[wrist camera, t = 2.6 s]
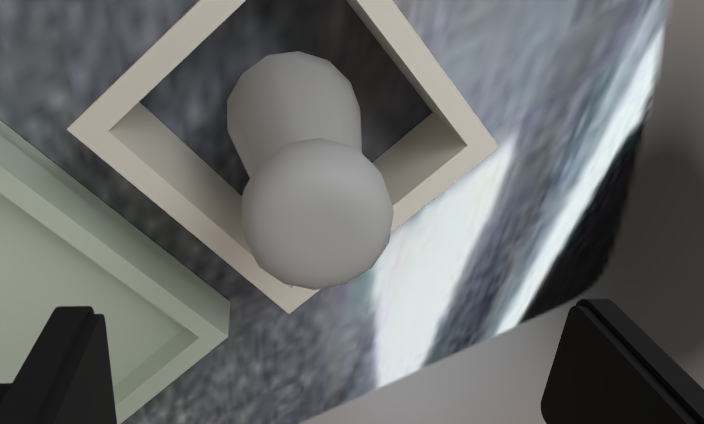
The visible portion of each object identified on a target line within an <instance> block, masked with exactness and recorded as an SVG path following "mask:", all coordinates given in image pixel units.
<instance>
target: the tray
mask: <svg viewBox="0 0 704 424" xmlns="http://www.w3.org/2000/svg"><path fill="white" fill-rule="evenodd" d="M58 306H91V307H92V308H93V310H94V314H103V315H104V317H105V322H106V331H107V340H108V349H109V357H110V366H111V375H112V383H113V392H114V401H115V410H116V418H117V424H121V423H122V422H123V421H125V420H126V419H127V418H128V417H129V416H131V415H132V414H133V413H134V412H136V411H137V410H138V409H139V408H141V407H142V406H143V405H144V404H146V403H147V402H148V401H149V400H151V399H152V398H153V397H154V396H155V395H157V394H158V393H159V392H160V391H162V390H163V389H164V388H165V387H167V386H168V385H169V384H170V383H172V382H173V381H174V380H175V379H177V378H178V377H179V376H180V375H181V374H183V373H184V372H185V371H186V370H188V369H189V368H190V367H191V366H193V365H194V364H195V363H196V362H198V361H199V360H200V359H201V358H203V357H204V356H205V355H206V354H207V353H209V352H210V351H211V350H212V349H214V348H215V347H216V346H217V345H219V344H220V343H221V342H222V341H224V340H225V339H226V338H227V337H228V332H229V315H230V301H228V300H227V299H226V298H225V297H223V296H222V295H221V294H220V293H218V292H217V291H216V290H214V289H213V288H212V287H211V286H209V285H208V284H207V283H206V282H204V281H203V280H202V279H201V278H199V277H198V276H197V275H195V274H194V273H193V272H192V271H190V270H189V269H188V268H187V267H185V266H184V265H183V264H182V263H180V262H179V261H178V260H176V259H175V258H174V257H173V256H171V255H170V254H169V253H168V252H166V251H165V250H164V249H163V248H161V247H160V246H159V245H157V244H156V243H155V242H154V241H152V240H151V239H150V238H149V237H147V236H146V235H145V234H144V233H142V232H141V231H140V230H138V229H137V228H136V227H135V226H133V225H132V224H131V223H130V222H128V221H127V220H126V219H125V218H123V217H122V216H121V215H119V214H118V213H117V212H116V211H114V210H113V209H112V208H111V207H109V206H108V205H107V204H106V203H104V202H103V201H102V200H100V199H99V198H98V197H97V196H95V195H94V194H93V193H92V192H90V191H89V190H88V189H87V188H85V187H84V186H83V185H81V184H80V183H79V182H78V181H76V180H75V179H74V178H73V177H71V176H70V175H69V174H68V173H66V172H65V171H64V170H62V169H61V168H60V167H59V166H57V165H56V164H55V163H54V162H52V161H51V160H50V159H49V158H47V157H46V156H45V155H43V154H42V153H41V152H40V151H38V150H37V149H36V148H35V147H33V146H32V145H31V144H30V143H28V142H27V141H26V140H24V139H23V138H22V137H21V136H19V135H18V134H17V133H16V132H14V131H13V130H12V129H11V128H9V127H8V126H7V125H5V124H4V123H3V122H2V121H0V383H13V381H14V379H15V377H16V376H17V374H18V372H19V370H20V369H21V367H22V365H23V363H24V362H25V360H26V358H27V356H28V355H29V353H30V351H31V349H32V348H33V346H34V344H35V342H36V340H37V339H38V337H39V335H40V333H41V332H42V330H43V328H44V326H45V325H46V323H47V321H48V319H49V318H50V316H51V314H52V312H53V311H54V309H55V308H56V307H58Z"/></svg>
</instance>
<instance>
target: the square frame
mask: <svg viewBox="0 0 704 424" xmlns="http://www.w3.org/2000/svg"><path fill="white" fill-rule="evenodd" d="M245 1H246V0H198V1H197V2H196V3H195V4H194V5H193V6H192V7H191V8H190V9H189V10H188V11H187V12H186V13H185V14H184V15H183V16H182V17H181V18H180V19H179V20H177V21H176V22H175V23H174V24H173V25H172V26H171V27H170V28H169V29H168V30H167V31H166V32H165V33H164V34H163V35H162V36H161V37H160V38H159V39H158V40H157V41H156V42H155V43H154V44H153V45H152V46H151V47H150V48H149V49H148V50H146V51H145V52H144V53H143V54H142V55H141V56H140V57H139V58H138V59H137V60H136V61H135V62H134V63H133V64H132V65H131V66H130V67H129V68H128V69H127V70H126V71H125V72H124V73H123V74H122V75H121V76H120V77H119V78H118V79H117V80H116V81H114V82H113V83H112V84H111V85H110V86H109V87H108V88H107V89H106V90H105V91H104V92H103V93H102V94H101V95H100V96H99V97H98V98H97V99H96V100H95V101H94V102H93V103H92V104H91V105H90V106H89V107H88V108H87V109H86V110H85V111H84V112H83V113H82V114H81V115H80V116H79V117H78V118H77V119H76V120H75V121H74V122H73V123H72V124H71V125H70V127H69V128H68V129H67V130H68V131H69V132H70V133H72V134H73V135H74V136H75V137H76V138H78V139H79V140H80V141H81V142H82V143H84V144H85V145H86V146H87V147H88V148H90V149H91V150H92V151H93V152H94V153H96V154H97V155H98V156H99V157H100V158H102V159H103V160H104V161H105V162H106V163H108V164H109V165H110V166H111V167H112V168H114V169H115V170H116V171H117V172H118V173H120V174H121V175H122V176H123V177H125V178H126V179H127V180H128V181H129V182H131V183H132V184H133V185H134V186H135V187H137V188H138V189H139V190H140V191H141V192H143V193H144V194H145V195H146V196H147V197H149V198H150V199H151V200H152V201H153V202H155V203H156V204H157V205H158V206H159V207H161V208H162V209H163V210H164V211H165V212H167V213H168V214H169V215H170V216H171V217H173V218H174V219H175V220H176V221H177V222H179V223H180V224H181V225H182V226H184V227H185V228H186V229H187V230H188V231H190V232H191V233H192V234H193V235H194V236H196V237H197V238H198V239H199V240H200V241H202V242H203V243H204V244H205V245H206V246H208V247H209V248H210V249H211V250H212V251H214V252H215V253H216V254H217V255H218V256H220V257H221V258H222V259H223V260H224V261H226V262H227V263H228V264H229V265H230V266H232V267H233V268H234V269H235V270H237V271H238V272H239V273H240V274H241V275H243V276H244V277H245V278H246V279H247V280H249V281H250V282H251V283H252V284H253V285H255V286H256V287H257V288H258V289H259V290H261V291H262V292H263V293H264V294H265V295H267V296H268V297H269V298H270V299H271V300H273V301H274V302H275V303H276V304H277V305H279V306H280V307H281V308H282V309H283V310H285V311H286V312H287V313H288V314H290V313H291V312H292V311H294V310H295V309H296V308H297V307H299V306H300V305H301V304H302V303H304V302H305V301H306V300H307V299H309V298H310V297H311V296H312V295H314V294H315V293H316V292H317V291H319V290H320V289H317V290H312V289H307V288H302V287H297V286H292V285H287V284H283V283H282V282H280V281H279V280H278V279H276V278H275V277H273V276H272V275H270V274H269V273H267V272H266V271H264V270H263V269H261V268H260V267H259V266H258V264H257V262H256V260H255V258H254V256H253V254H252V252H251V251H250V249H249V247H248V245H247V243H246V241H245V238H244V235H243V232H242V196H241V195H240V194H239V193H238V192H237V191H236V190H235V189H234V188H233V187H232V186H230V185H229V184H228V183H227V182H226V181H225V180H224V179H223V178H222V177H221V176H220V175H218V174H217V173H216V172H215V171H214V170H213V169H212V168H211V167H210V166H209V165H208V164H207V163H205V162H204V161H203V160H202V159H201V158H200V157H199V156H198V155H197V154H196V153H195V152H193V151H192V150H191V149H190V148H189V147H188V146H187V145H186V144H185V143H184V142H183V141H181V140H180V139H179V138H178V137H177V136H176V135H175V134H174V133H173V132H172V131H171V130H170V129H168V128H167V127H166V126H165V125H164V124H163V123H162V122H161V121H160V120H159V119H158V118H156V117H155V116H154V115H153V114H152V113H151V112H150V111H149V110H148V109H147V108H146V107H145V106H143V105H142V104H141V103H140V102H139V101H140V100H141V99H142V98H143V97H144V96H145V95H147V94H148V93H149V92H150V91H151V90H152V89H153V88H154V87H155V86H156V85H157V84H158V83H159V82H160V81H161V80H162V79H163V78H164V77H166V76H167V75H168V74H169V73H170V72H171V71H172V70H173V69H174V68H175V67H176V66H177V65H178V64H179V63H180V62H181V61H182V60H183V59H184V58H186V57H187V56H188V55H189V54H190V53H191V52H192V51H193V50H194V49H195V48H196V47H197V46H198V45H199V44H200V43H201V42H202V41H203V40H205V39H206V38H207V37H208V36H209V35H210V34H211V33H212V32H213V31H214V30H215V29H216V28H217V27H218V26H219V25H220V24H221V23H222V22H224V21H225V20H226V19H227V18H228V17H229V16H230V15H231V14H232V13H233V12H234V11H235V10H236V9H237V8H238V7H239V6H240V5H241V4H243V3H244V2H245ZM346 1H347V2H348V3H349V5H350V6H351V7H352V9H353V10H354V11H355V13H356V14H357V15H358V16H359V18H360V19H361V20H362V22H363V23H364V24H365V25H366V27H367V28H368V29H369V31H370V32H371V33H372V35H373V36H374V37H375V38H376V40H377V41H378V42H379V44H380V45H381V46H382V47H383V49H384V50H385V51H386V53H387V54H388V55H389V56H390V58H391V59H392V60H393V62H394V63H395V64H396V66H397V67H398V68H399V69H400V71H401V72H402V73H403V75H404V76H405V77H406V78H407V80H408V81H409V82H410V84H411V85H412V86H413V88H414V89H415V90H416V91H417V93H418V94H419V95H420V97H421V98H422V99H423V100H424V102H425V103H426V104H427V106H428V107H429V108H430V109H431V111H432V113H431V114H430V115H429V116H428V117H426V118H425V119H424V120H423V121H422V122H420V123H419V124H418V125H417V126H416V127H414V128H413V129H412V130H411V131H410V132H408V133H407V134H406V135H405V136H404V137H402V138H401V139H400V140H399V141H398V142H396V143H395V144H394V145H393V146H392V147H390V148H389V149H388V150H387V151H386V152H384V153H383V154H382V155H381V156H380V157H378V158H377V159H376V160H375V161H374V162H372V164H373V165H374V166H376V167H377V169H378V170H379V172H380V173H381V174H382V177H383V179H384V182H385V185H386V187H387V190H388V193H389V196H390V198H391V201H392V205H393V212H394V215H393V221H392V227H391V233H392V232H393V231H394V230H395V229H397V228H398V227H399V226H400V225H402V224H403V223H404V222H405V221H407V220H408V219H409V218H410V217H412V216H413V215H414V214H415V213H417V212H418V211H419V210H420V209H422V208H423V207H424V206H425V205H427V204H428V203H429V202H431V201H432V200H433V199H434V198H436V197H437V196H438V195H439V194H441V193H442V192H443V191H444V190H446V189H447V188H448V187H449V186H451V185H452V184H453V183H454V182H456V181H457V180H458V179H459V178H461V177H462V176H463V175H464V174H466V173H467V172H468V171H469V170H471V169H472V168H473V167H474V166H476V165H477V164H478V163H479V162H481V161H482V160H483V159H485V158H486V157H487V156H488V155H490V154H491V153H492V152H493V151H495V150H496V149H497V148H498V147H499V146H498V145H497V143H496V142H495V141H494V139H493V138H492V136H491V135H490V134H489V132H488V131H487V130H486V128H485V127H484V125H483V124H482V123H481V121H480V120H479V119H478V117H477V116H476V114H475V113H474V112H473V110H472V109H471V108H470V106H469V105H468V103H467V102H466V101H465V99H464V98H463V97H462V95H461V94H460V92H459V91H458V90H457V88H456V87H455V86H454V84H453V83H452V81H451V80H450V79H449V77H448V76H447V75H446V73H445V72H444V70H443V69H442V68H441V66H440V65H439V64H438V62H437V61H436V59H435V58H434V57H433V55H432V54H431V53H430V51H429V50H428V48H427V47H426V46H425V44H424V43H423V42H422V40H421V39H420V38H419V36H418V35H417V33H416V32H415V31H414V29H413V28H412V27H411V25H410V24H409V22H408V21H407V20H406V18H405V17H404V16H403V14H402V13H401V11H400V10H399V9H398V7H397V6H396V5H395V3H394V2H393V0H346Z"/></svg>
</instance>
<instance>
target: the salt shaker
mask: <svg viewBox="0 0 704 424" xmlns="http://www.w3.org/2000/svg"><path fill="white" fill-rule="evenodd" d="M227 131H228V133H229V135H230V137H231V139H232V142H233V144H234V146H235V148H236V150H237V152H238V154H239V157H240V159H241V161H242V163H243V165H244V167H245V169H246V171H247V173H248V175H249V177H250V180H249V182H248V183H247V185H246V187H245V188H244V191H243V196H242V232H243V235H244V238H245V241H246V243H247V245H248V247H249V249H250V251H251V252H252V254H253V256H254V258H255V260H256V262H257V264H258V266H259V267H260V268H261V269H263V270H264V271H266V272H267V273H269V274H270V275H272V276H273V277H275V278H276V279H278V280H279V281H280V282H282V283H283V284H287V285H292V286H297V287H302V288H307V289H312V290H317V289H322V288H327V287H332V286H337V285H342V284H346V283H348V282H349V281H351V280H352V279H354V278H356V277H357V276H359V275H361V274H362V273H364V272H365V271H367V270H369V269H370V268H372V267H373V265H374V264H375V262H376V261H377V259H378V258H379V256H380V255H381V253H382V252H383V250H384V249H385V248H386V246H387V245H388V243H389V238H390V233H391V227H392V221H393V215H394V212H393V205H392V201H391V198H390V196H389V193H388V190H387V187H386V185H385V182H384V179H383V177H382V174H381V173H380V172H379V170H378V169H377V167H376V166H374V165H373V164H372V163H371V162H370V161H369V160H368V159H367V158H366V157H365V156H364V155H363V154H362V143H361V117H360V107H359V104H358V102H357V99H356V96H355V93H354V91H353V88H352V85H351V82H350V81H349V80H348V79H347V78H346V77H345V76H344V75H343V74H342V73H341V72H340V71H339V70H338V69H337V68H336V67H335V66H334V65H333V64H332V63H331V62H330V61H329V60H326V59H323V58H319V57H316V56H313V55H309V54H306V53H303V52H300V51H296V52H287V53H279V54H271V55H267V56H266V57H264V58H263V59H262V60H260V61H259V62H257V63H256V64H255V65H253V66H252V67H251V68H249V69H248V70H247V71H245V72H244V73H243V74H242V75H241V77H240V78H239V80H238V82H237V84H236V85H235V87H234V89H233V91H232V93H231V94H230V96H229V98H228V100H227Z"/></svg>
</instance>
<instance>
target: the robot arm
mask: <svg viewBox="0 0 704 424" xmlns="http://www.w3.org/2000/svg"><path fill="white" fill-rule="evenodd" d="M541 412H542V415H543V418H544V420H545V422H546V423H547V424H704V389H703V388H701V386H699V385H698V384H697V383H696V382H695V381H694V380H693V379H692V378H691V377H690V376H689V375H688V374H687V373H686V372H685V371H684V370H683V369H682V368H681V367H680V366H679V365H678V364H677V363H676V362H675V361H674V360H673V359H672V358H671V357H669V356H668V355H667V354H666V353H665V352H664V351H663V350H662V349H661V348H660V347H659V346H658V345H657V344H656V343H655V342H654V341H653V340H652V339H651V338H650V337H649V336H648V335H647V334H646V333H645V332H644V331H642V330H641V329H640V328H639V327H638V326H637V325H636V324H635V323H634V322H633V321H632V320H631V319H630V318H629V317H628V316H627V315H626V314H625V313H624V312H623V311H622V310H621V309H620V308H619V307H618V306H617V305H616V304H615V303H613V302H612V301H611V300H609V299H582V300H580V301H578V302H577V304H576V306H573V307H572V308H571V309H570V311H569V313H568V316H567V319H566V323H565V326H564V329H563V333H562V335H561V339H560V342H559V345H558V348H557V352H556V355H555V359H554V362H553V365H552V368H551V371H550V374H549V377H548V381H547V384H546V387H545V390H544V394H543V397H542V400H541ZM0 424H117V418H116V410H115V401H114V392H113V383H112V375H111V366H110V357H109V349H108V340H107V331H106V322H105V317H104V315H103V314H94V310H93V308H92V307H91V306H58V307H56V308H55V309H54V311H53V312H52V314H51V316H50V318H49V319H48V321H47V323H46V325H45V326H44V328H43V330H42V332H41V333H40V335H39V337H38V339H37V340H36V342H35V344H34V346H33V348H32V349H31V351H30V353H29V355H28V356H27V358H26V360H25V362H24V363H23V365H22V367H21V369H20V370H19V372H18V374H17V376H16V377H15V379H14V381H13V383H0Z"/></svg>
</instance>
